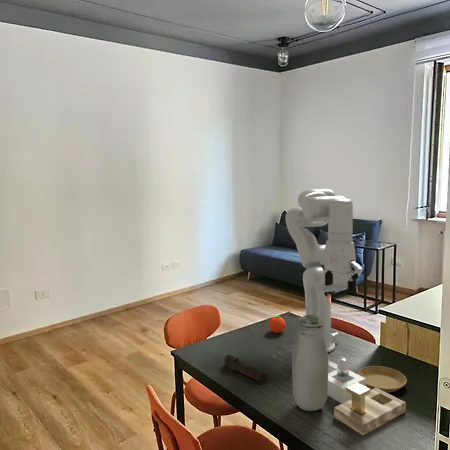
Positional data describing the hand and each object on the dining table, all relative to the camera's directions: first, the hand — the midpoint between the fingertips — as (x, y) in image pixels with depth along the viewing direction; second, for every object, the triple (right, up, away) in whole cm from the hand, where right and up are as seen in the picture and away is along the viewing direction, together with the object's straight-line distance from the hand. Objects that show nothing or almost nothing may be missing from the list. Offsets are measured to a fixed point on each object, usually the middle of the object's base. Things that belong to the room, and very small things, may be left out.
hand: (339, 288), depth 140 cm
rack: (-3, -31, -4) cm, 31 cm away
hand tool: (-31, -31, +7) cm, 45 cm away
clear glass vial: (-1, -31, -7) cm, 32 cm away
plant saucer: (+13, -31, -2) cm, 33 cm away
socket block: (+3, -33, -19) cm, 38 cm away
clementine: (-15, -25, +42) cm, 51 cm away
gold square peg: (-1, -33, -22) cm, 40 cm away
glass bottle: (-13, -33, -14) cm, 38 cm away
